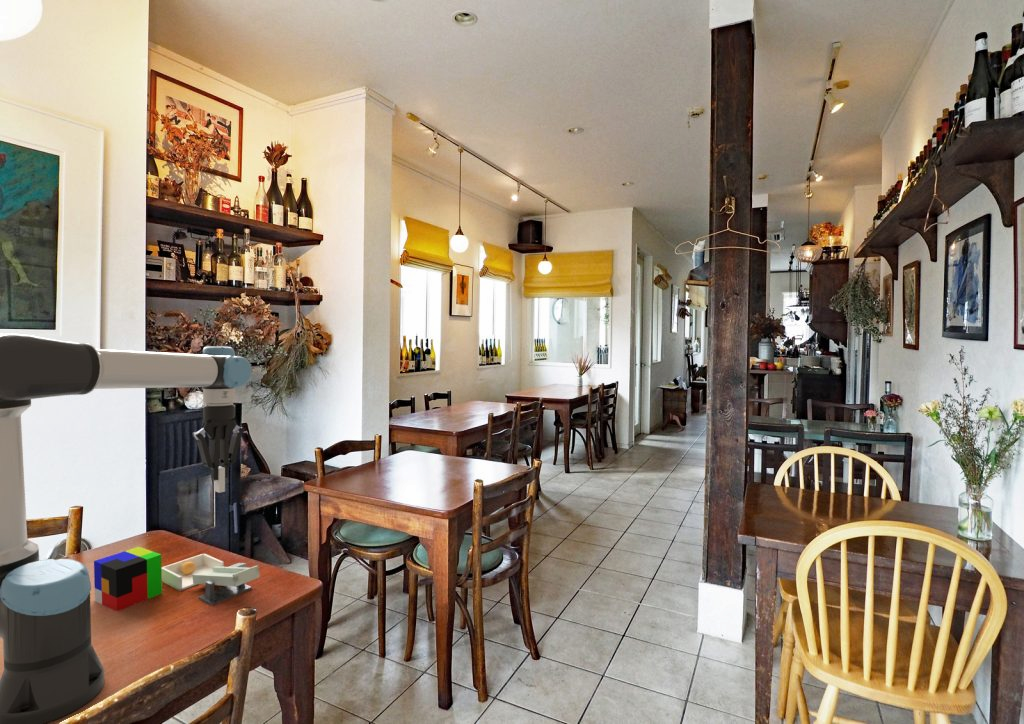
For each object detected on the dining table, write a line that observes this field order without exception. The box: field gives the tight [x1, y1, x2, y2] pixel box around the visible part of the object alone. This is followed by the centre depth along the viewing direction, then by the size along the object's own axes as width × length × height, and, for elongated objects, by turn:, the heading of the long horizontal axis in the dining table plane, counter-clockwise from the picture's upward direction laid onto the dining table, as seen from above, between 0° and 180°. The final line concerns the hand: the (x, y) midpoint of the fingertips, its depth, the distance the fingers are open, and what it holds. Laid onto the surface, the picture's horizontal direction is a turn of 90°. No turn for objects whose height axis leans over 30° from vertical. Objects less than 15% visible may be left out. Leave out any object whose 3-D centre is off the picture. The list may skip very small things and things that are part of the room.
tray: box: [161, 552, 225, 592], centre depth 141 cm, size 11×10×4 cm
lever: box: [192, 562, 261, 587], centre depth 135 cm, size 20×12×3 cm, turn 57°
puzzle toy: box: [93, 546, 163, 612], centre depth 130 cm, size 10×10×10 cm
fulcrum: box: [198, 581, 253, 607], centre depth 132 cm, size 6×10×4 cm, turn 148°
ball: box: [181, 562, 195, 574], centre depth 142 cm, size 3×3×3 cm
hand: (219, 491), depth 142 cm, fingers closed
